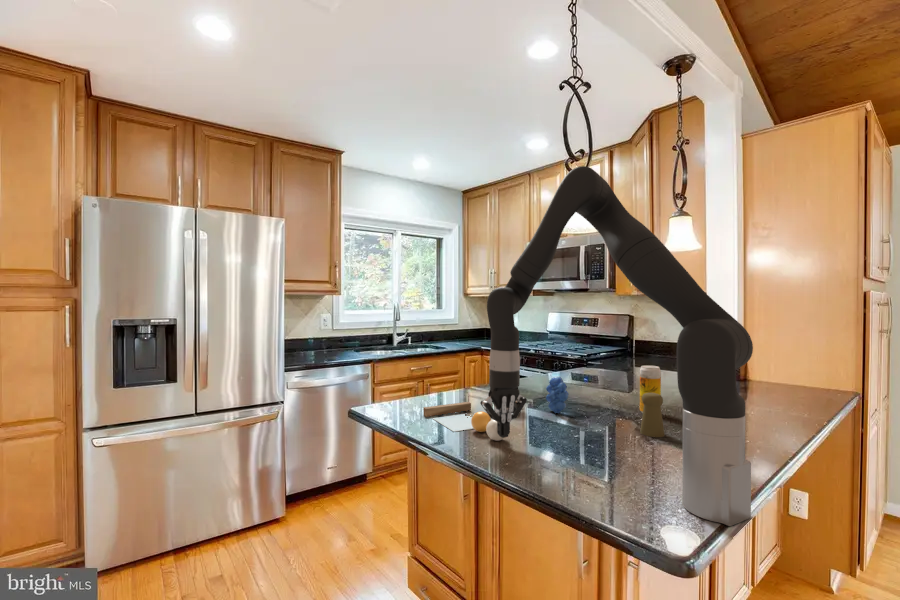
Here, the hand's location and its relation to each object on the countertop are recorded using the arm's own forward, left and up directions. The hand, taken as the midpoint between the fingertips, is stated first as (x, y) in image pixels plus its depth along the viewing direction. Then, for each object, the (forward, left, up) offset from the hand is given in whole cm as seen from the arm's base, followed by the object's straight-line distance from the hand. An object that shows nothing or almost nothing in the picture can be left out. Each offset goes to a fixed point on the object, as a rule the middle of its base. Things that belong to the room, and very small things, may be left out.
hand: (503, 436), depth 105 cm
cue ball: (+4, -1, 0) cm, 4 cm away
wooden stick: (+33, -1, -2) cm, 33 cm away
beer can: (+4, -59, -3) cm, 59 cm away
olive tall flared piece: (-10, -42, -3) cm, 43 cm away
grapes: (+17, -33, -3) cm, 37 cm away
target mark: (+22, -1, -2) cm, 22 cm away
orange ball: (+12, -1, 0) cm, 12 cm away
